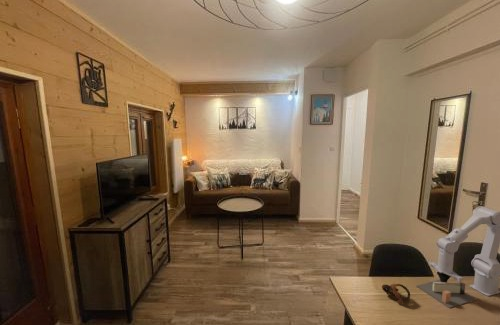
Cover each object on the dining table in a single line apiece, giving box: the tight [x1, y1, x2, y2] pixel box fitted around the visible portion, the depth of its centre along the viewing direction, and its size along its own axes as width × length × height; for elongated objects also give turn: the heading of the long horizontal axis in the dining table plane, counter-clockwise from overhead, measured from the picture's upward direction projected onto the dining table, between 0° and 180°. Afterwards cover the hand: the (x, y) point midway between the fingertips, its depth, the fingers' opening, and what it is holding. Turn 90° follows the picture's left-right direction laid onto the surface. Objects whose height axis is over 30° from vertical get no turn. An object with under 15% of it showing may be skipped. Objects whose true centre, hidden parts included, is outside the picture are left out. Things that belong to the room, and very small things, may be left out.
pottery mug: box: [381, 283, 411, 305], centre depth 112 cm, size 12×10×8 cm
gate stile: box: [442, 290, 451, 303], centre depth 108 cm, size 3×2×5 cm, turn 104°
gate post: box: [459, 281, 466, 295], centre depth 113 cm, size 2×2×6 cm
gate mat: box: [416, 279, 477, 309], centre depth 114 cm, size 18×16×1 cm
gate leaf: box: [432, 281, 460, 293], centre depth 114 cm, size 12×1×5 cm, turn 82°
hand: (443, 285), depth 116 cm, fingers closed
